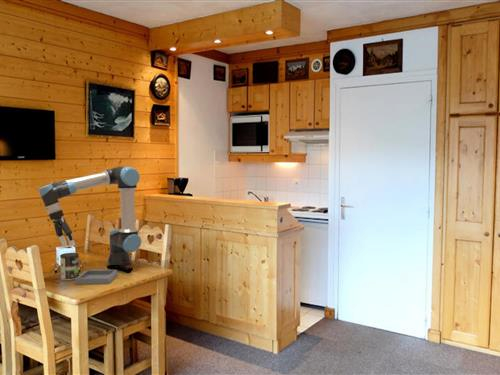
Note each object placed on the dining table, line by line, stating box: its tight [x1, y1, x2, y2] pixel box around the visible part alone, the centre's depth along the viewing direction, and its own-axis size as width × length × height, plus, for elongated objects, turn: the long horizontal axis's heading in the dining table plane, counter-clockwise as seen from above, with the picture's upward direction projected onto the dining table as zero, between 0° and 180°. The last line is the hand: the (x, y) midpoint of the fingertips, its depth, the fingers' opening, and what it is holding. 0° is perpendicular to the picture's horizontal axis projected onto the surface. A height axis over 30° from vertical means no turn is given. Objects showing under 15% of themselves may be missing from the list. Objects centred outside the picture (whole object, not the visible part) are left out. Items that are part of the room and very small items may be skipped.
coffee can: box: [59, 252, 80, 281], centre depth 268 cm, size 10×10×14 cm
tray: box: [74, 269, 118, 285], centre depth 265 cm, size 18×18×3 cm
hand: (69, 246), depth 260 cm, fingers open, 13 cm apart
